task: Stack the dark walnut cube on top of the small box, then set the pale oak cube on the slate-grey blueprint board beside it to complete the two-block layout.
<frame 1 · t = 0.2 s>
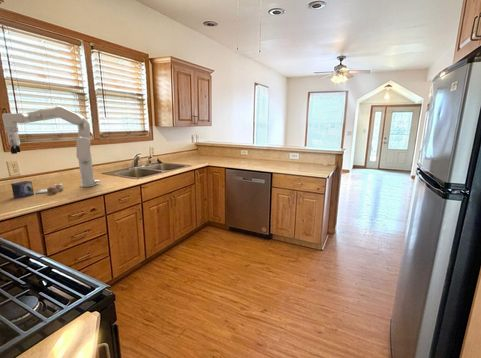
hand: (16, 152, 198), 31 cm above the worktop, fingers open, 9 cm apart
walnut cube: (52, 193, 200), on the worktop
blueprint board: (45, 191, 205), on the worktop
oak cube: (59, 190, 209), on the worktop
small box: (24, 196, 194), on the worktop
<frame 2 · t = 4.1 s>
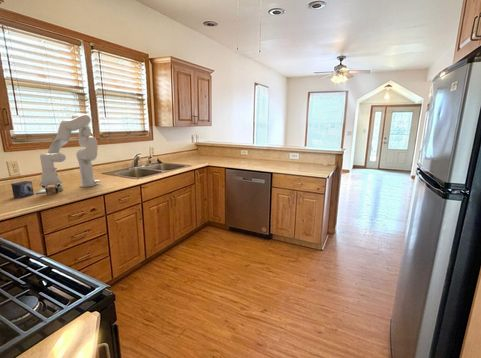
hand: (52, 192, 200), 1 cm above the worktop, fingers closed on walnut cube, 5 cm apart
walnut cube: (52, 193, 200), on the worktop, touching gripper
everything else where it was.
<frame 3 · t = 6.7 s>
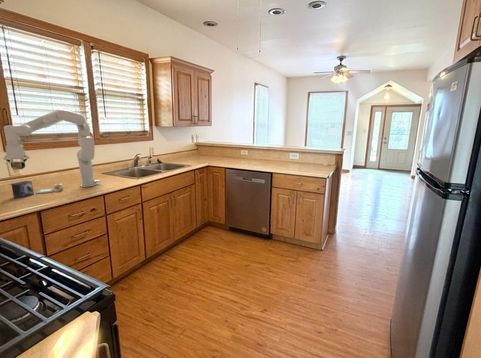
hand: (18, 167, 189), 21 cm above the worktop, fingers closed on walnut cube, 5 cm apart
walnut cube: (18, 168, 189), point 21 cm above the worktop, touching gripper
everything else where it was.
when the fingers open (11 cm above the worktop, at t = 9.3 s): walnut cube stays where it is, resting on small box.
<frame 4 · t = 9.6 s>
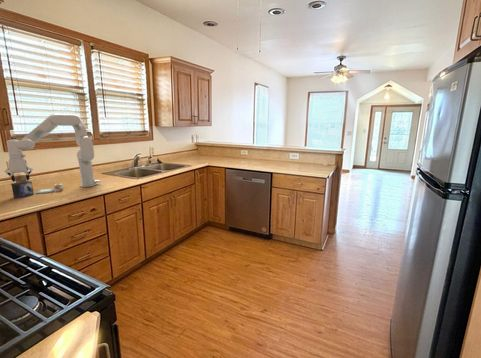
hand: (21, 180, 191), 12 cm above the worktop, fingers open, 7 cm apart
walnut cube: (21, 182, 192), point 10 cm above the worktop, touching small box
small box: (24, 196, 194), on the worktop, touching walnut cube
everything else where it was.
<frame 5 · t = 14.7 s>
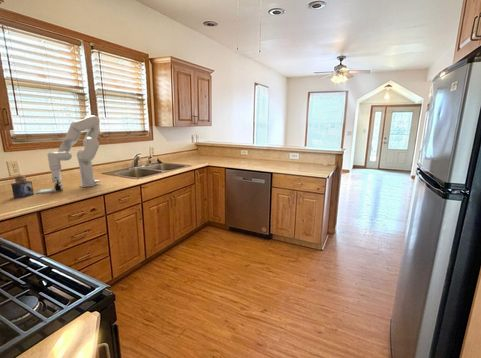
hand: (59, 189, 209), 1 cm above the worktop, fingers closed on oak cube, 5 cm apart
oak cube: (59, 190, 209), on the worktop, touching gripper
everything else where it was.
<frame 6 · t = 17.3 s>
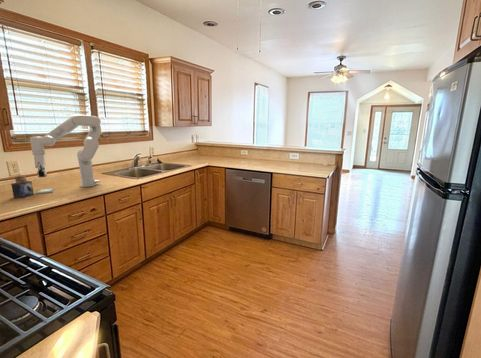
hand: (42, 175, 202), 13 cm above the worktop, fingers closed on oak cube, 5 cm apart
oak cube: (42, 176, 202), point 12 cm above the worktop, touching gripper
everything else where it was.
when the fingers open (2 cm above the worktop, at t = 19.9 s): oak cube stays where it is, resting on blueprint board.
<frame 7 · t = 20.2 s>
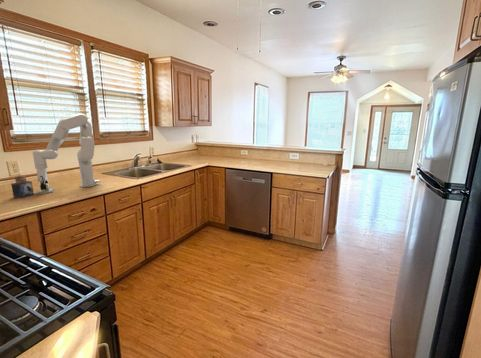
hand: (45, 188, 205), 3 cm above the worktop, fingers open, 8 cm apart
oak cube: (45, 190, 205), point 1 cm above the worktop, touching blueprint board
everything else where it was.
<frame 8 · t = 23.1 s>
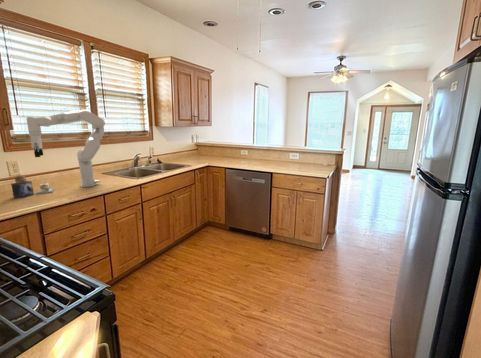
hand: (39, 156, 199), 28 cm above the worktop, fingers open, 9 cm apart
nothing on the worktop moved.
at the end: walnut cube 0.1 cm from the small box (horizontally); walnut cube point 10.4 cm above the worktop; oak cube inside the target area on the blueprint board (0.0 cm from its centre), point 1.1 cm above the blueprint board's base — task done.
